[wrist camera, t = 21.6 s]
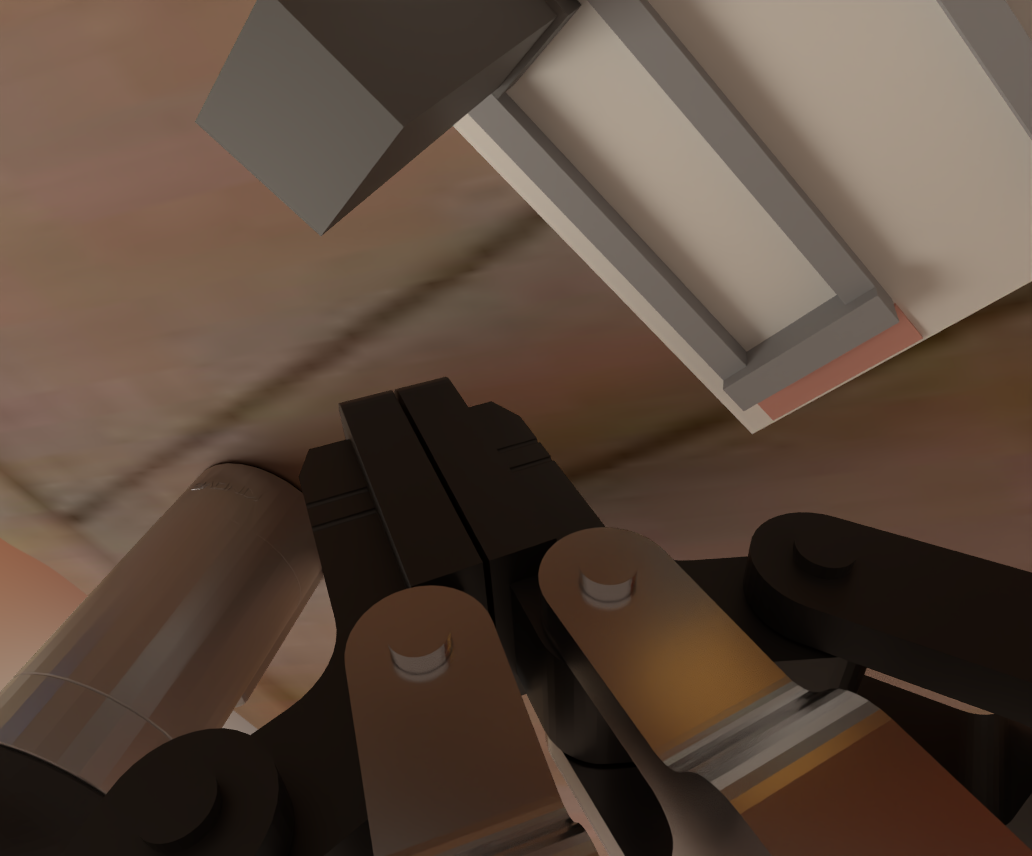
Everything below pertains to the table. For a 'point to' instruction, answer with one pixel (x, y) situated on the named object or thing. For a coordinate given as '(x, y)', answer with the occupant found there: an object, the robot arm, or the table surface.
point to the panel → (685, 155)
